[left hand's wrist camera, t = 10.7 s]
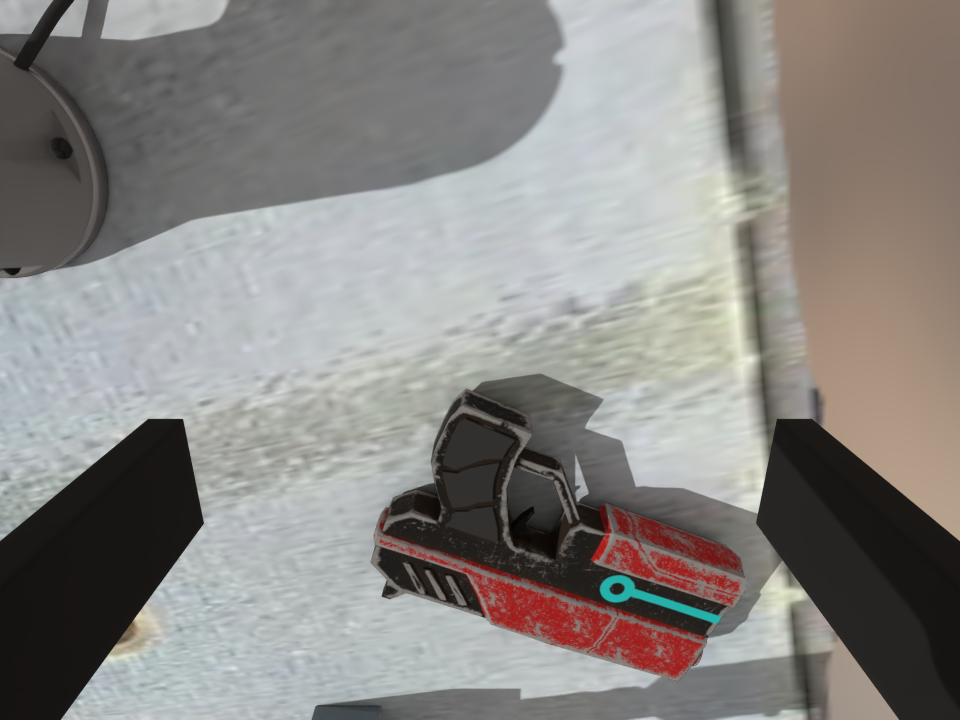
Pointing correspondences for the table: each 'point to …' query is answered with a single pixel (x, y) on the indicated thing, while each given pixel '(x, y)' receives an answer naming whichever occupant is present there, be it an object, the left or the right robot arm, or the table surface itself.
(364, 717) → the grey rectangular block
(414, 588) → the gun
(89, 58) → the table surface
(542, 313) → the table surface
